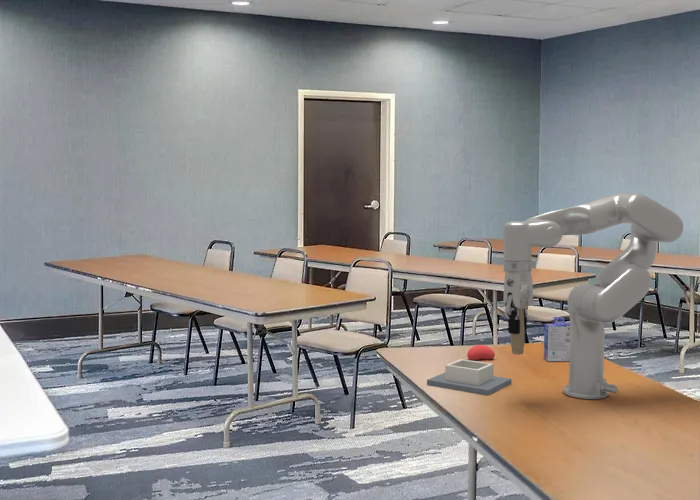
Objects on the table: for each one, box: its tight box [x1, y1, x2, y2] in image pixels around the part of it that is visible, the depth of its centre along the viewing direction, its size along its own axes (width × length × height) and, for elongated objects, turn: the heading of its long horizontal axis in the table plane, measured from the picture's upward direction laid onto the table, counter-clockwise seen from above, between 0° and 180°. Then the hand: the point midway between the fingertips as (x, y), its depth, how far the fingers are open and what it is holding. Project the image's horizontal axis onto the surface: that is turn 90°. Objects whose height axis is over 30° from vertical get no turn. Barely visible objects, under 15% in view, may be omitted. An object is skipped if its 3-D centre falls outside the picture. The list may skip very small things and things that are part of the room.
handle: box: [509, 301, 529, 356], centre depth 226 cm, size 5×6×15 cm
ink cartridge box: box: [543, 316, 570, 362], centre depth 277 cm, size 10×6×14 cm, turn 94°
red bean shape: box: [466, 344, 496, 361], centre depth 278 cm, size 5×9×6 cm
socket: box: [426, 358, 513, 396], centre depth 245 cm, size 20×16×6 cm
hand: (517, 331), depth 226 cm, fingers closed on handle, 3 cm apart
